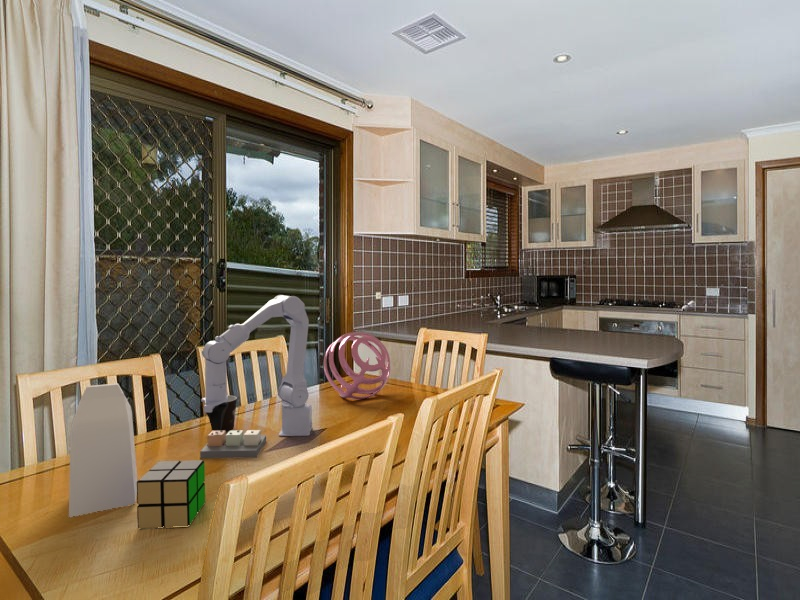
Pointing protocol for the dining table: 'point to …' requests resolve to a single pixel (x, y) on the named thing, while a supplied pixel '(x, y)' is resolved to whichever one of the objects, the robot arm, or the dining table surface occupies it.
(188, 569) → the dining table surface
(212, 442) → the orange dice cube
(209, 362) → the robot arm
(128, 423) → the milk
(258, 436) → the cream single-knob block
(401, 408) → the dining table surface
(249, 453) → the button board
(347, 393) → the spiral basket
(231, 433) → the pale green cube
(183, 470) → the puzzle cube
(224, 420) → the coffee mug
